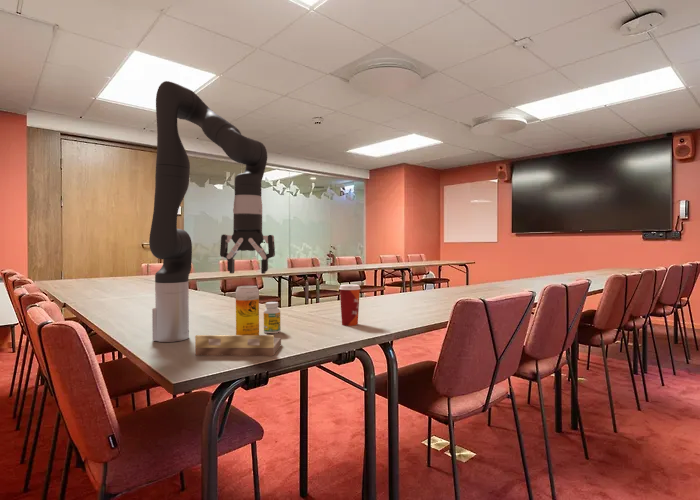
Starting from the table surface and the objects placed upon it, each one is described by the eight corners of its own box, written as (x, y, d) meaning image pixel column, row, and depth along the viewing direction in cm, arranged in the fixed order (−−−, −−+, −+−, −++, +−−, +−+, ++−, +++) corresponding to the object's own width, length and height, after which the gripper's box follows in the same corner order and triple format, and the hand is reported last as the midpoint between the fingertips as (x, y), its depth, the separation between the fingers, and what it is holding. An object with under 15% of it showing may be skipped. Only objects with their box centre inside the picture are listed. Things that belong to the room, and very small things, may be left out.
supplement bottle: (276, 329, 137) (276, 301, 137) (283, 332, 132) (283, 302, 132) (261, 331, 134) (261, 302, 134) (267, 334, 129) (267, 304, 129)
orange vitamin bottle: (244, 345, 107) (244, 288, 107) (231, 342, 111) (231, 286, 111) (263, 341, 111) (263, 286, 111) (250, 338, 116) (250, 285, 115)
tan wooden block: (195, 355, 105) (195, 336, 105) (210, 344, 116) (210, 327, 116) (273, 355, 105) (272, 336, 105) (281, 345, 116) (280, 327, 116)
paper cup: (360, 326, 142) (360, 286, 142) (338, 326, 142) (338, 286, 142) (360, 322, 150) (360, 283, 149) (339, 322, 150) (339, 283, 150)
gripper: (277, 214, 114) (276, 272, 114) (226, 213, 114) (225, 272, 115) (271, 212, 107) (271, 274, 107) (216, 211, 107) (216, 274, 107)
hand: (247, 273), depth 111 cm, fingers open, 8 cm apart
